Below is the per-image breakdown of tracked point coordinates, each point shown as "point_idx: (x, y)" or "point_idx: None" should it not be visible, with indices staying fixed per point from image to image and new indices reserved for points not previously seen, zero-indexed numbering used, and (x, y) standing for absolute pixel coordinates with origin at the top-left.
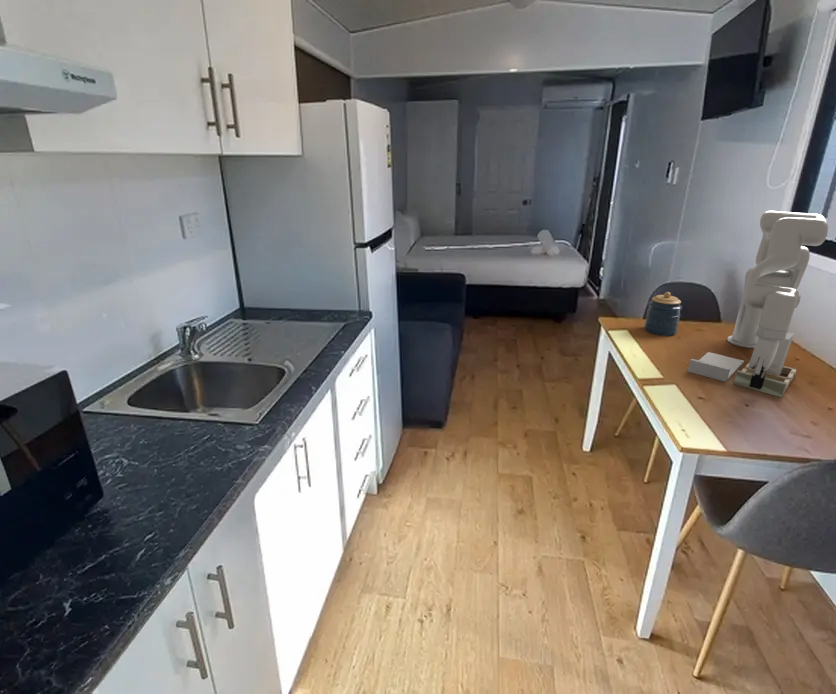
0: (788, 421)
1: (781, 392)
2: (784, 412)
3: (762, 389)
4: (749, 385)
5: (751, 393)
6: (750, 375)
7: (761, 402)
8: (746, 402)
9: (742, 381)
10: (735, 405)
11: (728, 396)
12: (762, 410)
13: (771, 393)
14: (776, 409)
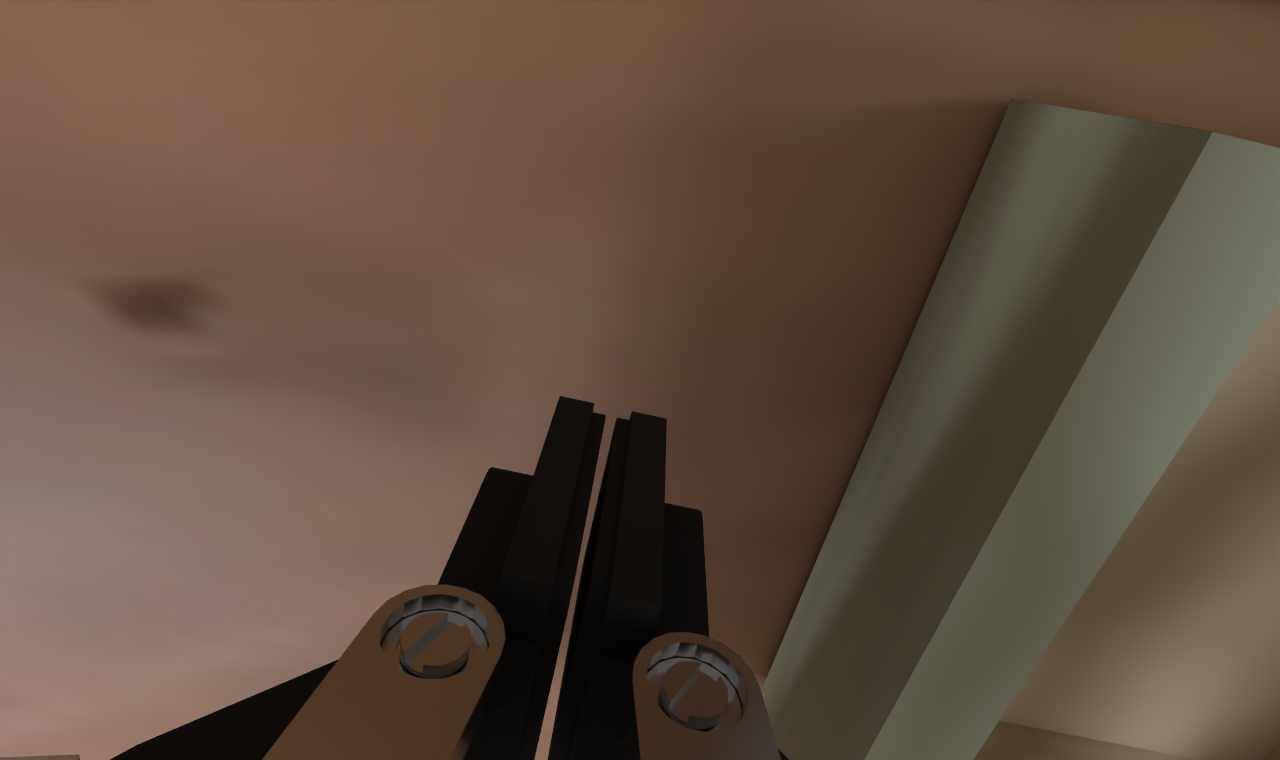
0: (97, 676)
1: (776, 732)
2: (315, 667)
3: (848, 534)
4: (560, 400)
5: (711, 380)
6: (1022, 459)
7: (438, 483)
8: (277, 306)
9: (992, 266)
10: (4, 148)
11: (310, 18)
12: (166, 480)
13: (802, 611)
14: (337, 610)
